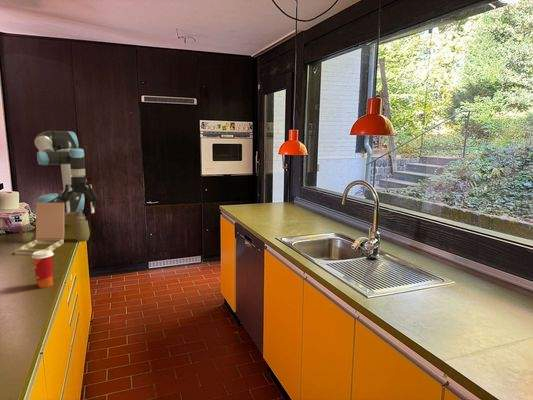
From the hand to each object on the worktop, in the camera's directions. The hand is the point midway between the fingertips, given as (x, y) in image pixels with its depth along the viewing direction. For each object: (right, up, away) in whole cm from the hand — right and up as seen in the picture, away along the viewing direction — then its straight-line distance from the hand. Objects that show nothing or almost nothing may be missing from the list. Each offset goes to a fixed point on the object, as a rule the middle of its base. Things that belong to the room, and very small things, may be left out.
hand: (80, 212), depth 215 cm
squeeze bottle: (0, -17, +2) cm, 17 cm away
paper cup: (+17, -28, -63) cm, 70 cm away
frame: (-14, -19, -14) cm, 28 cm away
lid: (-15, -4, -5) cm, 16 cm away
